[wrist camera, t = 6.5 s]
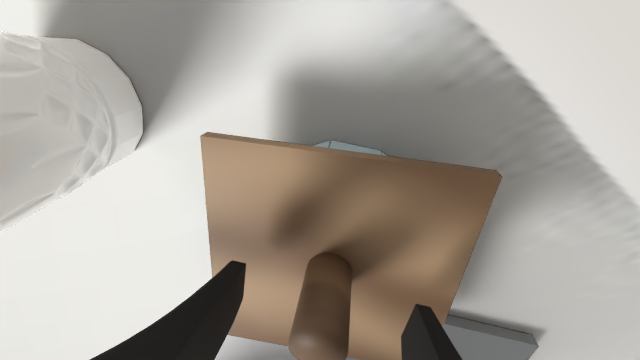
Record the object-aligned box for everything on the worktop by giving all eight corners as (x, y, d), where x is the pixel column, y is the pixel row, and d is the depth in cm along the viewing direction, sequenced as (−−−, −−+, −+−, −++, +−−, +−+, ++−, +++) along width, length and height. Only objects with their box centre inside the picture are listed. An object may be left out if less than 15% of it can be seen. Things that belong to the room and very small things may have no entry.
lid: (423, 361, 17) (442, 464, 13) (221, 324, 18) (179, 408, 14) (495, 170, 12) (567, 239, 8) (207, 131, 13) (132, 175, 9)
